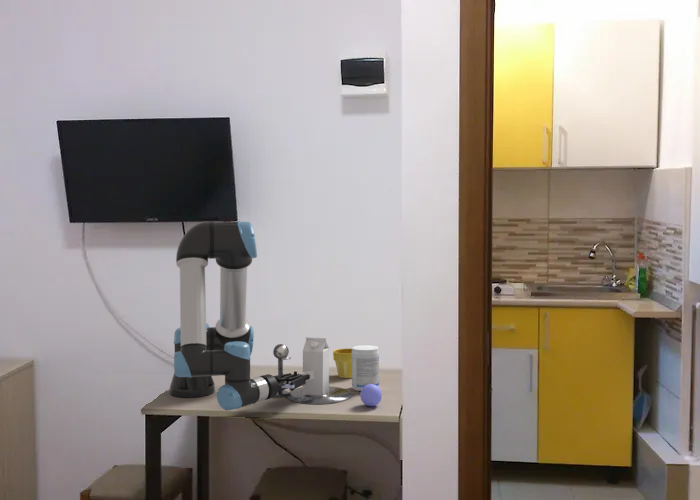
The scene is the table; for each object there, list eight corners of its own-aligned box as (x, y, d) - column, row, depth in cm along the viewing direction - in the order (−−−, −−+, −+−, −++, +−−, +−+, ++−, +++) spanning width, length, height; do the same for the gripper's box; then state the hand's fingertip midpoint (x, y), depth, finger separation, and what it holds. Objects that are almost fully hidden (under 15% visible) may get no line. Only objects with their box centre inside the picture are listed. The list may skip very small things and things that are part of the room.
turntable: (305, 407, 230) (305, 406, 230) (275, 392, 248) (275, 391, 248) (363, 398, 241) (363, 396, 241) (331, 384, 260) (331, 383, 260)
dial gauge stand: (278, 398, 241) (277, 346, 240) (270, 394, 246) (270, 343, 245) (291, 396, 244) (291, 344, 243) (284, 392, 249) (283, 342, 247)
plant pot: (335, 372, 277) (335, 347, 277) (362, 373, 276) (361, 348, 276) (331, 379, 267) (331, 353, 266) (359, 380, 266) (359, 353, 265)
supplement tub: (384, 389, 253) (384, 347, 252) (364, 393, 247) (364, 351, 246) (366, 384, 260) (366, 343, 259) (346, 388, 254) (346, 347, 253)
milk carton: (309, 390, 250) (309, 335, 249) (329, 391, 248) (329, 336, 247) (302, 395, 243) (302, 339, 242) (322, 396, 241) (322, 340, 240)
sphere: (376, 410, 227) (376, 388, 227) (356, 407, 230) (356, 385, 230) (385, 404, 234) (385, 383, 233) (365, 401, 237) (365, 380, 236)
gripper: (247, 396, 227) (298, 382, 245) (276, 404, 219) (327, 388, 237) (246, 373, 227) (298, 360, 245) (276, 379, 218) (327, 365, 237)
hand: (312, 374), depth 241 cm, fingers closed
